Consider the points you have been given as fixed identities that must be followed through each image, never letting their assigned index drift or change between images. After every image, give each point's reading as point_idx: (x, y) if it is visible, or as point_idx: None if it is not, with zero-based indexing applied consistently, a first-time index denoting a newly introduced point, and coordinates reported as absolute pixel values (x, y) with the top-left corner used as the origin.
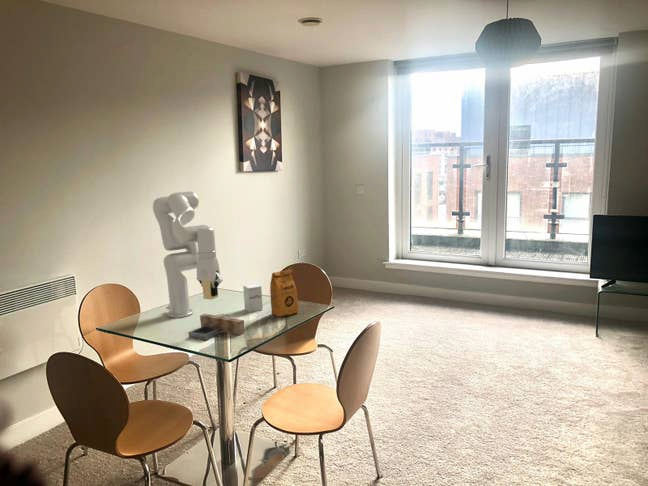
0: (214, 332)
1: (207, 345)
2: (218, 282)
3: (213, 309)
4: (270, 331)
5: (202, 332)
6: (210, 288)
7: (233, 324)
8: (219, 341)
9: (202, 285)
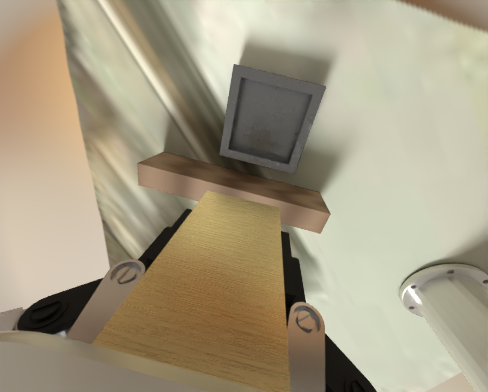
0: (225, 121)
1: (203, 20)
2: (6, 320)
3: (346, 317)
4: (112, 191)
5: (287, 141)
6: (165, 249)
7: (172, 167)
8: (187, 79)
9: (302, 317)
